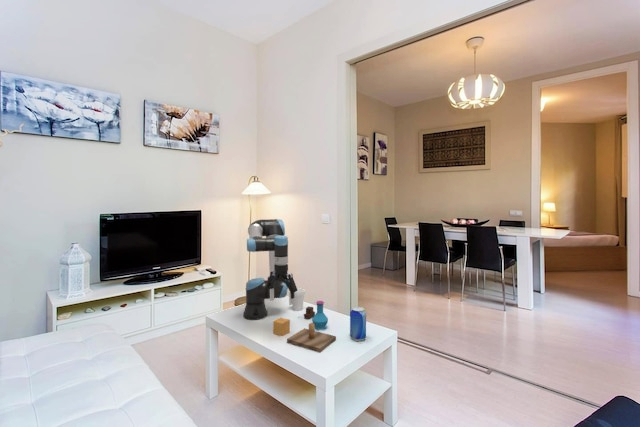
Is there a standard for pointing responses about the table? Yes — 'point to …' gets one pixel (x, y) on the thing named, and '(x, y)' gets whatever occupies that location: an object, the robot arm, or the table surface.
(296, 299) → the foam cup
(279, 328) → the wooden toy cube
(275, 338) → the table surface
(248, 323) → the table surface
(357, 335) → the beer can
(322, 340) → the post board
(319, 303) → the perfume bottle
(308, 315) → the stack of crates
